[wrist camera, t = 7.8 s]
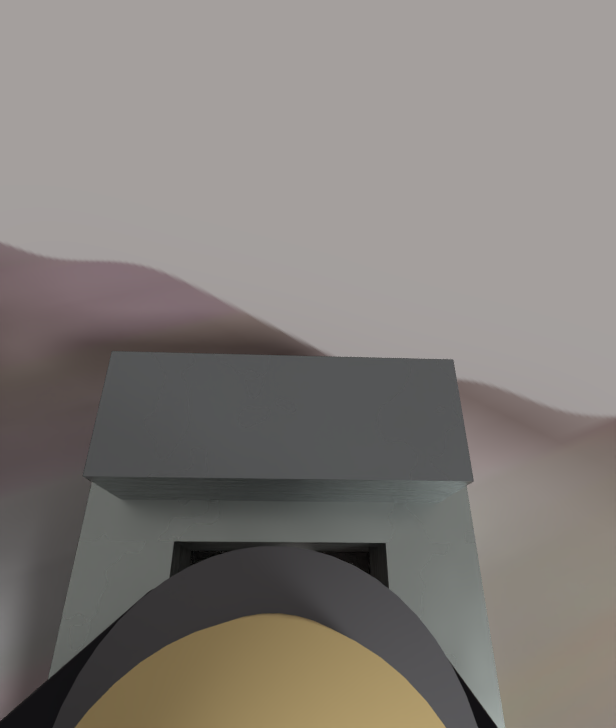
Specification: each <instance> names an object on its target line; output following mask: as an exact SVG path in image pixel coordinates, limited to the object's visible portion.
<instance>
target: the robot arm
mask: <svg viewBox="0 0 616 728" xmlns="http://www.w3.org/2000/svg"><path fill="white" fill-rule="evenodd" d="M152 590H153V589H152ZM152 590H150V591H149V592H151V591H152ZM149 592H147V593H146V594H145V595H144V596H146V595H147V594H148V593H149ZM144 596H143V597H144ZM143 597H142V598H143ZM142 598H141V599H142ZM139 600H140V599H139ZM139 600H138V601H139ZM138 601H137V602H138ZM137 602H136V603H137ZM136 603H135V604H136ZM135 604H134V605H135ZM134 605H133V606H134ZM133 606H131V607H130V608H129V609H128V610H127V611H126V612H125V613H123V614H122V615H121V616H120V617H119V618H118V619H117V620H115V621H114V622H113V623H112V624H111V625H110V626H109V627H107V628H106V629H105V630H104V631H103V632H102V633H101V634H99V635H98V636H97V637H96V638H95V639H94V640H93V641H91V642H90V643H89V644H88V645H87V646H86V647H85V648H83V649H82V650H81V651H80V652H79V653H78V654H77V655H75V656H74V657H73V658H72V659H71V660H70V661H69V662H67V663H66V664H65V665H64V666H63V667H62V668H61V669H59V670H58V671H57V672H56V673H55V674H54V675H53V676H51V677H50V678H49V679H48V680H47V681H46V682H45V683H43V684H42V685H41V686H40V687H39V688H38V689H37V690H35V691H34V692H33V693H32V694H31V695H30V696H29V697H27V698H26V699H25V700H24V701H23V702H22V703H21V704H19V705H18V706H17V707H16V708H15V709H14V710H13V711H11V712H10V713H9V714H8V715H7V716H6V717H5V718H3V719H2V720H1V721H0V728H53V726H54V723H55V721H56V718H57V716H58V714H59V711H60V709H61V706H62V704H63V703H64V701H65V699H66V697H67V695H68V693H69V691H70V689H71V688H72V686H73V684H74V682H75V680H76V678H77V676H78V675H79V673H80V671H81V670H82V668H83V667H84V665H85V664H86V662H87V661H88V659H89V658H90V657H91V655H92V654H93V652H94V651H95V649H96V648H97V646H98V645H99V644H100V642H101V641H102V640H103V639H104V638H105V636H106V635H107V634H108V633H109V632H110V630H111V629H112V628H113V627H114V626H115V624H116V623H117V622H118V621H119V620H120V619H121V618H122V617H123V616H124V615H125V614H126V613H127V612H128V611H129V610H130V609H131V608H132V607H133ZM448 660H449V659H448ZM449 662H450V661H449ZM450 663H451V662H450ZM451 665H452V664H451ZM452 667H453V669H454V671H455V673H456V675H457V677H458V679H459V681H460V683H461V685H462V688H463V690H464V692H465V694H466V696H467V699H468V701H469V704H470V707H471V710H472V712H473V715H474V718H475V721H476V724H477V726H478V728H498V727H497V725H496V724H495V723H494V721H493V720H492V719H491V717H490V716H489V714H488V713H487V712H486V710H485V709H484V708H483V706H482V705H481V703H480V702H479V701H478V699H477V698H476V697H475V695H474V694H473V692H472V691H471V690H470V688H469V687H468V686H467V684H466V683H465V681H464V680H463V679H462V677H461V676H460V675H459V673H458V672H457V670H456V669H455V668H454V666H453V665H452Z"/></svg>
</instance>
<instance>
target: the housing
mask: <svg viewBox="0 0 616 728" xmlns="http://www.w3.org/2000/svg"><path fill="white" fill-rule="evenodd" d="M83 477H85V478H86V479H88V480H90V481H91V482H92V484H91V488H90V493H89V497H88V502H87V506H86V511H85V515H84V520H83V524H82V529H81V533H80V538H79V542H78V547H77V551H76V556H75V560H74V565H73V569H72V574H71V578H70V583H69V587H68V592H67V596H66V601H65V605H64V609H63V614H62V618H61V623H60V627H59V632H58V636H57V641H56V645H55V650H54V654H53V659H52V663H51V668H50V672H49V677H48V679H49V678H50V677H51V676H53V675H54V674H55V673H56V672H57V671H58V670H59V669H61V668H62V667H63V666H64V665H65V664H66V663H67V662H69V661H70V660H71V659H72V658H73V657H74V656H75V655H77V654H78V653H79V652H80V651H81V650H82V649H83V648H85V647H86V646H87V645H88V644H89V643H90V642H91V641H93V640H94V639H95V638H96V637H97V636H98V635H99V634H101V633H102V632H103V631H104V630H105V629H106V628H107V627H109V626H110V625H111V624H112V623H113V622H114V621H115V620H117V619H118V618H119V617H120V616H121V615H122V614H123V613H125V612H126V611H127V610H128V609H129V608H130V607H131V606H133V605H134V604H135V603H136V602H137V601H138V600H139V599H141V598H142V597H143V596H144V595H145V594H146V593H147V592H149V591H150V590H152V589H155V588H156V587H157V586H158V585H160V584H161V583H162V582H164V581H165V580H167V579H169V578H170V577H172V576H174V575H175V574H177V573H179V572H180V571H182V570H184V569H186V568H187V567H189V566H190V565H191V556H192V551H234V550H238V549H245V548H252V547H259V546H287V547H295V548H302V549H309V550H312V551H316V552H369V557H370V575H371V576H372V577H374V578H376V579H377V580H378V581H380V582H381V583H382V584H383V585H385V586H386V587H387V588H388V589H390V590H391V591H392V592H393V593H395V594H396V595H397V596H398V597H399V598H400V599H401V600H402V601H403V602H404V603H405V604H406V605H407V606H408V607H409V608H410V609H411V610H412V611H413V612H414V613H415V614H416V615H417V616H418V617H419V619H420V620H421V621H422V622H423V624H424V625H425V626H426V627H427V629H428V630H429V631H430V633H431V634H432V635H433V636H434V638H435V639H436V641H437V642H438V644H439V645H440V647H441V649H442V650H443V652H444V654H445V655H446V657H447V658H448V659H449V661H450V662H451V664H452V665H453V666H454V668H455V669H456V670H457V672H458V673H459V675H460V676H461V677H462V679H463V680H464V681H465V683H466V684H467V686H468V687H469V688H470V690H471V691H472V692H473V694H474V695H475V697H476V698H477V699H478V701H479V702H480V703H481V705H482V706H483V708H484V709H485V710H486V712H487V713H488V714H489V716H490V717H491V719H492V720H493V721H494V723H495V724H496V725H497V727H498V728H505V723H504V717H503V711H502V705H501V698H500V692H499V686H498V680H497V673H496V667H495V661H494V655H493V648H492V642H491V636H490V630H489V623H488V617H487V611H486V604H485V598H484V592H483V586H482V579H481V573H480V567H479V561H478V554H477V548H476V542H475V536H474V529H473V523H472V517H471V511H470V504H469V498H468V492H467V485H468V484H470V483H472V482H473V481H474V480H473V474H472V468H471V462H470V456H469V450H468V444H467V438H466V432H465V427H464V421H463V415H462V409H461V403H460V397H459V391H458V385H457V379H456V373H455V367H454V362H453V360H448V359H409V358H368V357H366V358H365V357H328V356H287V355H246V354H205V353H165V352H124V351H112V353H111V357H110V361H109V366H108V370H107V374H106V378H105V383H104V387H103V391H102V396H101V400H100V404H99V408H98V413H97V417H96V421H95V425H94V430H93V434H92V438H91V443H90V447H89V451H88V455H87V460H86V464H85V468H84V473H83Z"/></svg>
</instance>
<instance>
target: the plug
mask: <svg viewBox="0 0 616 728" xmlns="http://www.w3.org/2000/svg"><path fill="white" fill-rule="evenodd" d="M53 728H478V726H477V724H476V721H475V718H474V715H473V712H472V710H471V707H470V704H469V701H468V699H467V696H466V694H465V692H464V690H463V688H462V685H461V683H460V681H459V679H458V677H457V675H456V673H455V671H454V669H453V667H452V665H451V663H450V662H449V660H448V658H447V657H446V655H445V654H444V652H443V650H442V649H441V647H440V645H439V644H438V642H437V641H436V639H435V638H434V636H433V635H432V634H431V633H430V631H429V630H428V629H427V627H426V626H425V625H424V624H423V622H422V621H421V620H420V619H419V617H418V616H417V615H416V614H415V613H414V612H413V611H412V610H411V609H410V608H409V607H408V606H407V605H406V604H405V603H404V602H403V601H402V600H401V599H400V598H399V597H398V596H397V595H396V594H395V593H393V592H392V591H391V590H390V589H388V588H387V587H386V586H385V585H383V584H382V583H381V582H380V581H378V580H377V579H376V578H374V577H372V576H371V575H369V574H367V573H366V572H364V571H362V570H361V569H359V568H357V567H356V566H354V565H352V564H349V563H347V562H345V561H342V560H340V559H338V558H335V557H333V556H330V555H327V554H323V553H320V552H316V551H312V550H309V549H302V548H295V547H287V546H259V547H252V548H245V549H238V550H234V551H230V552H227V553H223V554H220V555H216V556H213V557H210V558H208V559H205V560H203V561H201V562H199V563H196V564H194V565H192V566H189V567H187V568H186V569H184V570H182V571H180V572H179V573H177V574H175V575H174V576H172V577H170V578H169V579H167V580H165V581H164V582H162V583H161V584H160V585H158V586H157V587H156V588H155V589H153V590H152V591H151V592H149V593H148V594H147V595H146V596H144V597H143V598H142V599H140V600H139V601H138V602H137V603H136V604H135V605H134V606H133V607H132V608H131V609H130V610H129V611H128V612H127V613H126V614H125V615H124V616H123V617H122V618H121V619H120V620H119V621H118V622H117V623H116V624H115V626H114V627H113V628H112V629H111V630H110V632H109V633H108V634H107V635H106V636H105V638H104V639H103V640H102V641H101V642H100V644H99V645H98V646H97V648H96V649H95V651H94V652H93V654H92V655H91V657H90V658H89V659H88V661H87V662H86V664H85V665H84V667H83V668H82V670H81V671H80V673H79V675H78V676H77V678H76V680H75V682H74V684H73V686H72V688H71V689H70V691H69V693H68V695H67V697H66V699H65V701H64V703H63V704H62V706H61V709H60V711H59V714H58V716H57V718H56V721H55V723H54V726H53Z"/></svg>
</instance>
